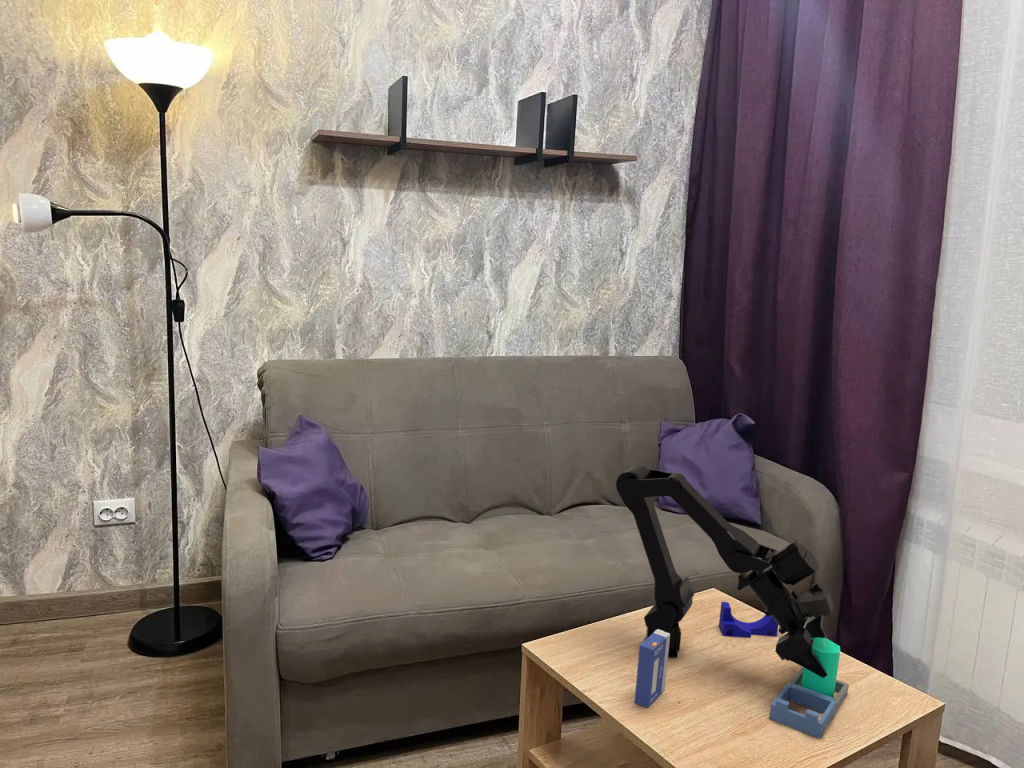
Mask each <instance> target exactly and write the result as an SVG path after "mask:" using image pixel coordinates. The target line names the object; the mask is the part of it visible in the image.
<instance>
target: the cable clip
mask: <svg viewBox="0 0 1024 768" xmlns="http://www.w3.org/2000/svg"><path fill="white" fill-rule="evenodd" d="M720 603H721V604H720V613H719V621H718V627H719V630H720V632H721V635H722V637H730V638H731V637H733V638H748V639H751V638H752V636H760V637H762V636H763V637H778V632H779V631H778V630H779V625H778V624H777V622H776V621H775V620H774V618H773V617H772V616H771V615H770V616H768V617H767V615H766V614H765V615H764V616H763V617H761V618H760V619H758V620H756V621H752V622H751V621H750V622H746V621H742V620H739V619H737V618H736V617H734V616H733V614H732V608H731V606H730V605H731V604H730V603H729V602H728V601H721V602H720Z"/></svg>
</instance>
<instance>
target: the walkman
mask: <svg viewBox="0 0 1024 768" xmlns="http://www.w3.org/2000/svg"><path fill="white" fill-rule="evenodd" d="M669 642H670V633H667V632H664V631H662V630H659V629H657V630H656V631H655V632H654V633H653V634H652V635H650V636H649V637H648V638H647V639H646V640H645V639H644V641H643V642H642V643H640V644H639V650H638V659H637V660H638V661H637V671H636V682H635V683H636V684H635V694H634V703H635V704H637V705H640V706H642V707H644V708H647V709H648V708H649V707H650V706H651V705H652V704H654V702H655V701H656V700H657V699H658V698H659V697H660V696H661V695H662V694H663V692H664V691H665V690H666V680H667V671H668V662H669V661H668V660H669V657H668V652H669Z"/></svg>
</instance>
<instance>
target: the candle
mask: <svg viewBox="0 0 1024 768" xmlns="http://www.w3.org/2000/svg"><path fill="white" fill-rule="evenodd" d="M827 638H828V637H827ZM827 638H825V637H824V638H819V637H818V638H812V639H814V645H813V650H814V652H815V653H816V655H817V657H818V658H819V660H820V662H821V663H822V665H823V667H824V669H825V670H826V672H827V676H826V677H824V678H822V677H820V676H819V675H817V674H815V673H813V672H811V671H810V670H808V669H806V668H804V667H803V668H804V669H803V676H802V681H801V683H800V686H802V687H805V688H808V689H811V690H813V691H816V692H819V693H821V694H824V695H827V696H830V697H832V698H833V699H835V698H834V696H835V692H836V691H835V684H836V680H837V677H838V670H839V663H840V656H841V646H840V645H838V644H837V643H835V642H833V641H832V640H830V638H829V639H827Z"/></svg>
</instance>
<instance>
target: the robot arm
mask: <svg viewBox="0 0 1024 768" xmlns="http://www.w3.org/2000/svg"><path fill="white" fill-rule="evenodd" d="M615 488H616V491H617V494H618V495H619V496H620V499H621V501H622V503H623V505H625V507H626V508H627V510H629V512H631V514H632V516H633V519H634V520H635V521H634V522H635V523H636V524H635V525H636V527H637V531H638V533H639V536H640V539H641V542H642V546H643V549H644V552H645V554H646V558H647V562H648V564H649V567H650V570H651V574H652V576H653V579H654V586H653V587H654V593H653V594H654V597H653V599H654V604H653V606H652V607H651V608H650V609H649V611H648V612H647V613H646V614H645V615H644V617H643V619H644V624H645V627H646V631H645V637H644V641H645V640H646V639H647V638H648V637H649V636H650V635H652V634H653V633H654V632H655V631H656V630H657V629H659V630H662V631H664V632H667V633H670V642H669V652H668V658H678V655H679V654H678V652H679V651H680V650H681V647H680V646H681V640H682V638H681V637H682V629H681V627H680V624H679V623H680V622H681V621H682V620H683V619H684V618H685V616H686V615H687V613H688V612H689V610H690V608H692V605H693V598H694V596H695V593H694V592H693V590H692V589H691V584H690V580H689V577H687V576H686V577H684V578H682V577H681V576H680V575H679V574H678V573H677V571H676V568H675V566H674V563H673V560H672V556H671V554H670V551H669V550H670V549H669V548H668V544H667V541H666V539H665V535H664V533H663V529H662V525H661V523H660V519H659V517H658V513H657V510H656V507H655V497H670V498H671V499H672V500H673V501H674V502H675V503H676V504H677V505H678V506H679V507H680V508H681V510H683V511H684V512H685V513H686V515H687V516H688V517H689V518H691V520H693V522H694V523H695V524H696V525H697V526H698V527H699V528H700V529H701V531H703V532H704V533H705V534H706V535H707V536H708V537H709V538H710V539H711V541H712V543H713V544H714V547H715V548H716V551H717V553H718V555H719V557H720V558H721V559H722V560H723V562H724V563H725V566H726V567H728V569H729V570H730V571H732V572H733V573H736V574H738V576H737V579H738V580H737V581H738V582H737V587H736V588H737V590H738V591H741V590H743V589H744V588H746V587H749V588H750V590H751V591H752V593H753V594H754V595H755V596H756V598H757V599H758V600H759V601H760V603H761V604H762V605H763V607H764V608H765V610H764V611H763V612H764V614H765V615H767V617H768V616H770V615H771V616H772V617H773V618H774V620H775V621H776V622H777V624H778V632H779V633H780V635H781V636H779V637H778V640H777V642H776V644H775V652H774V653H776V654H777V656H778V657H779V658H780V660H781V661H784V660H786V661H787V662H789V661H790V662H791V663H795V664H796V665H798V666H800V667H801V668H806V669H808V670H810V671H811V672H813V673H815V674H817V675H819V676H820V677H822V678H824V677H826V676H827V672H826V670H825V669H824V667H823V665H822V663H821V662H820V660H819V658H818V657H817V655H816V653H815V652H814V650H813V645H814V639H812V638H818V637H819V638H824V637H825V638H827V639H828V635H827V634H826V632H825V629H824V627H823V624H822V623H823V617H826V616H830V615H831V614H832V613H833V609H834V607H835V605H834V603H833V600H832V593H831V591H829V590H828V588H825V586H823V584H822V583H820V582H815V583H811V586H810V591H806V592H805V593H803V594H800V593H798V591H797V590H796V589H794V588H792V589H789V588H788V585H790V586H795V585H797V584H798V583H800V582H801V581H803V580H805V579H807V578H808V577H810V576H811V575H813V574H815V573H817V572H819V571H820V566H819V563H818V561H817V559H816V557H815V556H814V554H813V553H812V552H811V550H810V549H808V548H806V547H805V546H804V545H803V544H800V543H799V542H798V541H797V540H796V539H793V540H792V541H790V542H789V543H788V544H787V545H786V546H784V547H783V548H781V549H780V550H777V549H775V548H773V547H769V546H767V545H763V544H761V543H759V542H758V541H757V540H756V539H754V537H752V536H750V535H749V533H747V532H745V531H744V530H743V529H741V528H739V527H736V526H734V525H732V524H731V523H729V521H727V520H726V519H725V518H724V517H723V516H722V514H721V513H719V512H718V511H717V509H716V508H714V506H713V505H712V504H710V502H709V501H707V500H706V499H705V497H704V496H703V495H701V493H700V492H699V491H698V490H697V489H696V488H695V487H694V486H693V485H692V484H691V483H690V482H689V481H688V480H687V478H686V477H685V476H684V475H683V474H682V473H679V472H667V471H665V470H661V469H651V468H647V467H645V466H643V465H639V464H637V465H636V464H635V465H633V466H630V467H629V468H628V469H627V470H624V471H623V472H622V473H621V474H620V475H619V476H617V479H616V481H615Z"/></svg>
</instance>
